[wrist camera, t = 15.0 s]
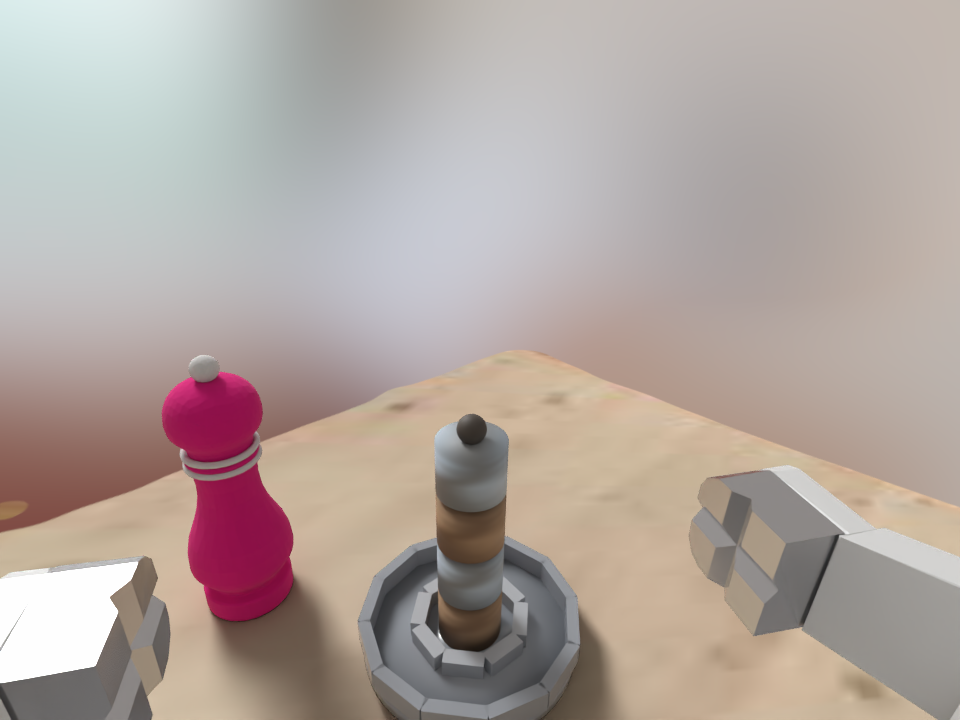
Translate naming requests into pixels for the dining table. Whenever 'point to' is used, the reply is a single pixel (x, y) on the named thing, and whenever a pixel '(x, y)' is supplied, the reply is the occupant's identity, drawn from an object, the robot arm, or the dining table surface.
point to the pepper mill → (229, 493)
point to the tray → (465, 674)
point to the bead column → (470, 531)
